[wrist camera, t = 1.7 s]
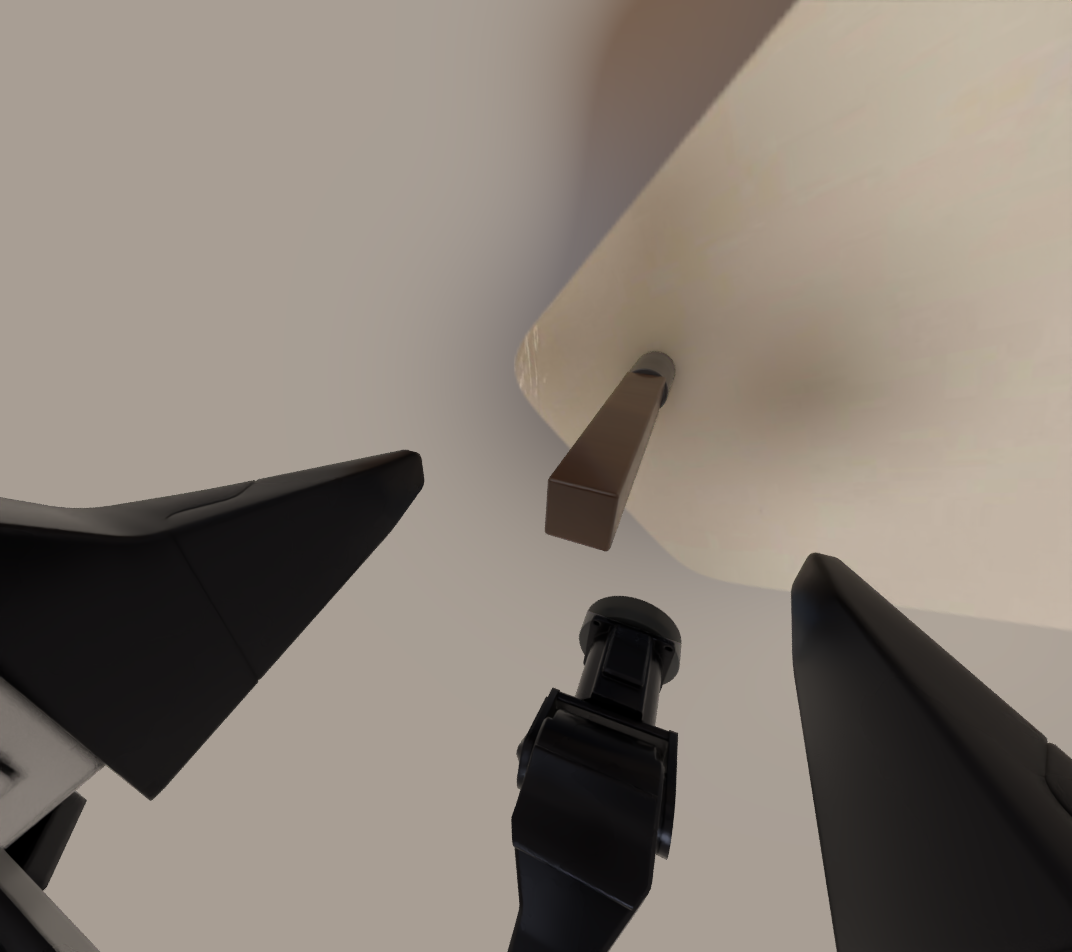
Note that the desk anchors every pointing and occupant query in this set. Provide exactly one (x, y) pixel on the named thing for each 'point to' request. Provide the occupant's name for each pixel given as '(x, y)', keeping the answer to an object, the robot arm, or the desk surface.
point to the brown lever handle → (608, 457)
